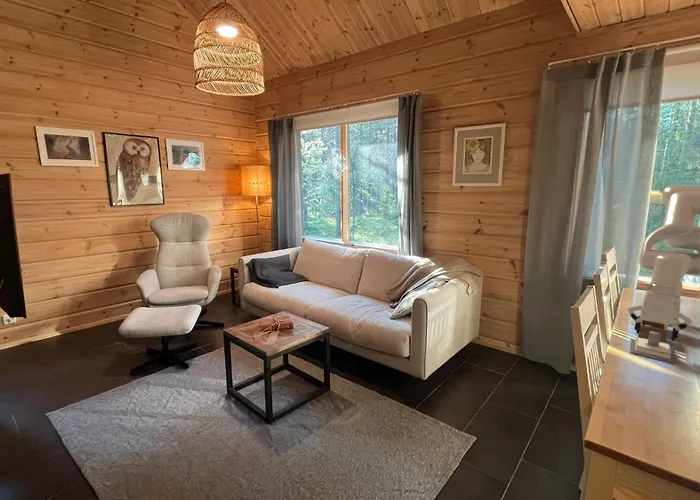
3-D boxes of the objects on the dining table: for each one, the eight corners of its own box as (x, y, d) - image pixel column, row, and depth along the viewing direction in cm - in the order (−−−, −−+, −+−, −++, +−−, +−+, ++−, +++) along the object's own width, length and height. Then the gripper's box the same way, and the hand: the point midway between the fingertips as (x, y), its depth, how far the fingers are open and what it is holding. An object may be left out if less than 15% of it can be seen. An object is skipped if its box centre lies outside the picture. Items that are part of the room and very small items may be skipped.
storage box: (637, 333, 146) (640, 319, 144) (663, 338, 141) (666, 324, 140) (637, 339, 139) (640, 325, 138) (664, 345, 134) (667, 330, 133)
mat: (630, 340, 139) (631, 338, 139) (672, 349, 132) (672, 348, 131) (630, 353, 128) (630, 351, 128) (675, 364, 121) (675, 362, 121)
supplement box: (667, 333, 146) (674, 298, 143) (642, 331, 148) (648, 296, 145) (653, 325, 155) (660, 291, 152) (629, 322, 156) (635, 289, 153)
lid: (635, 341, 136) (638, 325, 135) (668, 349, 130) (671, 332, 129) (635, 350, 129) (638, 333, 128) (670, 359, 123) (673, 341, 122)
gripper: (632, 287, 128) (624, 332, 131) (699, 298, 117) (688, 346, 120) (632, 283, 133) (624, 326, 137) (696, 292, 123) (686, 339, 126)
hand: (654, 336), depth 129 cm, fingers open, 9 cm apart
